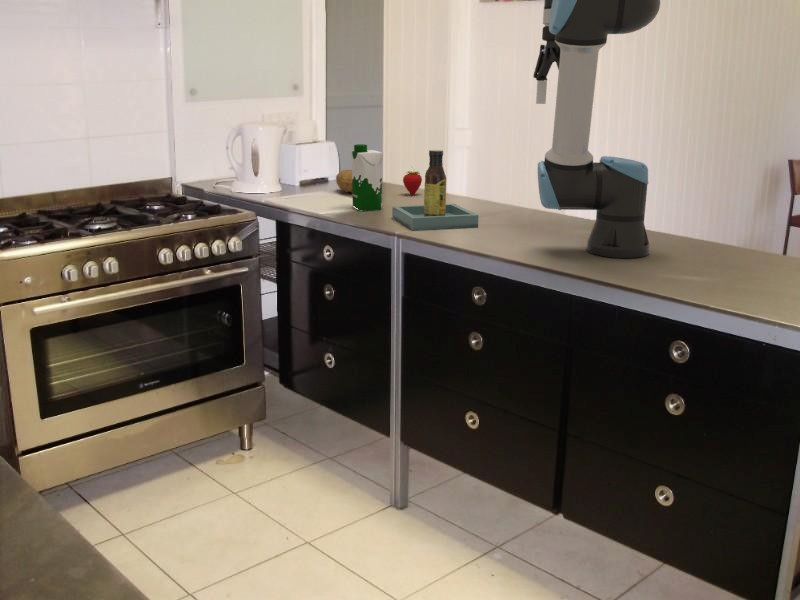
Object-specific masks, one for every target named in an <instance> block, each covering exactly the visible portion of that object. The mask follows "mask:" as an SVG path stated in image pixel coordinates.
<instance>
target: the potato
mask: <svg viewBox="0 0 800 600" xmlns="http://www.w3.org/2000/svg"><path fill="white" fill-rule="evenodd" d="M336 184H337V186H338V188H339V189H341V190H343V191H344V192H346V191H347V193H348V192H352V169H343V170H340V171H339V172H338V174H337V175H336Z"/></svg>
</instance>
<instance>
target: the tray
mask: <svg viewBox="0 0 800 600" xmlns="http://www.w3.org/2000/svg"><path fill="white" fill-rule="evenodd" d="M391 212H392V216H391V217H392V219H393V220H395V221H396V222H398V223H400V225H403V226H404V227H405V228H407V227H408V229H409V230H411V231H412V232H413V231H415V230H416V231H428V230H429V231H431V230H432V231H433V230H434V229H435V230H450V229H451V230H452V229H471V228H472V229H473V228H479V214H477V213H475V212H473V211H470V210H468V209H466V208H464V207H462V206H460V205H457V204H456V203H446V209H445V216H426V217H424V204H419V205H418V204H416V205H395V206H392V211H391Z"/></svg>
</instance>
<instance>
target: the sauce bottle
mask: <svg viewBox="0 0 800 600" xmlns="http://www.w3.org/2000/svg"><path fill="white" fill-rule="evenodd" d="M428 151H429V152H428V156H429V164H428V165H429V166H428V168H427V170H426V172H425V174H424V190H423V191H424V198H423V205H424V217H426V216H445V209H446V204H447V200H446V199H447V177H446V176H447V175H446V174H445V169H444V167H443V155H444V150H443V149H432V150H431V149H430V150H428Z"/></svg>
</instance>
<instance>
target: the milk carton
mask: <svg viewBox="0 0 800 600" xmlns="http://www.w3.org/2000/svg"><path fill="white" fill-rule="evenodd" d="M350 154H351V167H352V168H351V170H352V193H351V194H352V196H351V197H352V207H353V206H355V207H356V208H358V209H359V210H370V211H381V210H382V200H383V197H382V196H383V157H384V155H383V154H384V153H383V152H381V151H378V150H374V149H368V145H367V144H365V143H364V144H363V143H362V144H361V143H360V144H359V143H358V144H353V150H351V151H350ZM359 210H358V211H359Z"/></svg>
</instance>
